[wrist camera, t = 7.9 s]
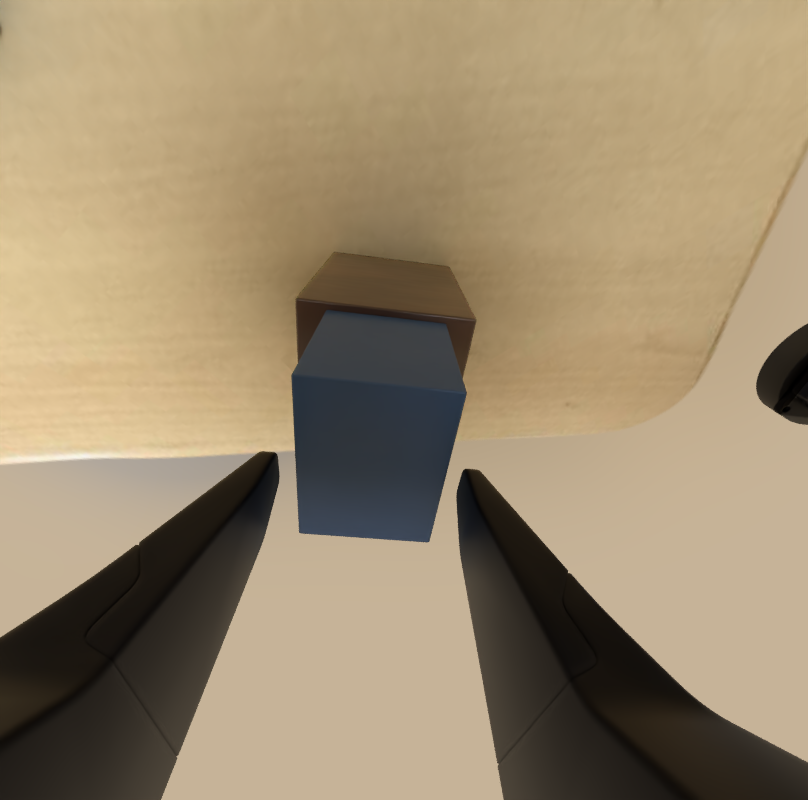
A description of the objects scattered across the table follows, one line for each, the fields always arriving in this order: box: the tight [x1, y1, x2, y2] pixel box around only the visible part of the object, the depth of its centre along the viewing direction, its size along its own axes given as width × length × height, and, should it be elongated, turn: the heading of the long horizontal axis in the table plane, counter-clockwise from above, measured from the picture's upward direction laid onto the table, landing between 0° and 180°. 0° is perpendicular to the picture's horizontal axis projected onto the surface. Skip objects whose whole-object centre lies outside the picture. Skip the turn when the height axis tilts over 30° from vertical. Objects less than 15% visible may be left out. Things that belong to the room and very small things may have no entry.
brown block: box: [295, 252, 476, 379], centre depth 17 cm, size 6×6×8 cm
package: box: [291, 310, 467, 542], centre depth 11 cm, size 4×6×4 cm
